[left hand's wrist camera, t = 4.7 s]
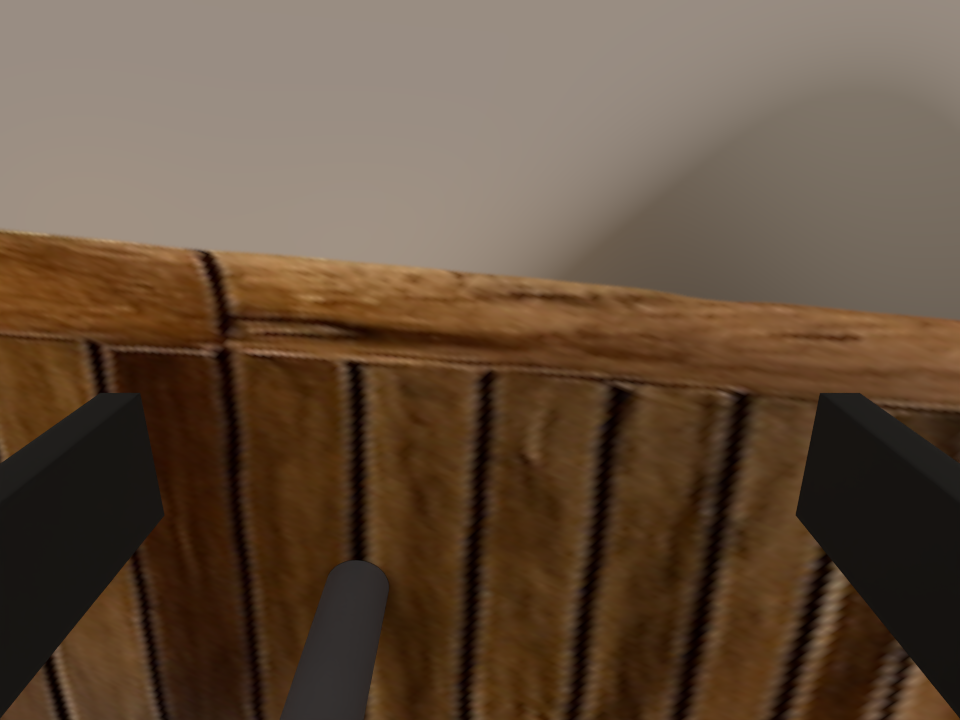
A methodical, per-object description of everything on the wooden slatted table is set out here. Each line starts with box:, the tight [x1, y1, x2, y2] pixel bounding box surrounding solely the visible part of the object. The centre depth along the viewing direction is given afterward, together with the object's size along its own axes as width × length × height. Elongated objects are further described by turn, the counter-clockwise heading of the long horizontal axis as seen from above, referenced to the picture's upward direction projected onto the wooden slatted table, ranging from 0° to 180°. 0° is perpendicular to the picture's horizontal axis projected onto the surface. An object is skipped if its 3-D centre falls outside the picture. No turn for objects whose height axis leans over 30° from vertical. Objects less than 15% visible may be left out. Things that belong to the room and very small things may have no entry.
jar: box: [280, 560, 389, 720], centre depth 40 cm, size 5×5×16 cm
